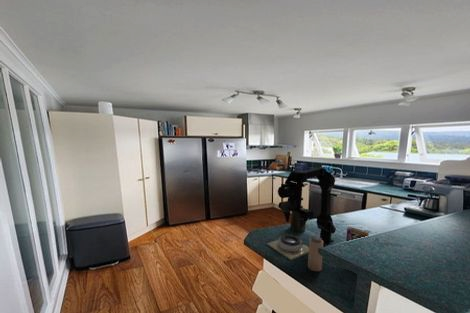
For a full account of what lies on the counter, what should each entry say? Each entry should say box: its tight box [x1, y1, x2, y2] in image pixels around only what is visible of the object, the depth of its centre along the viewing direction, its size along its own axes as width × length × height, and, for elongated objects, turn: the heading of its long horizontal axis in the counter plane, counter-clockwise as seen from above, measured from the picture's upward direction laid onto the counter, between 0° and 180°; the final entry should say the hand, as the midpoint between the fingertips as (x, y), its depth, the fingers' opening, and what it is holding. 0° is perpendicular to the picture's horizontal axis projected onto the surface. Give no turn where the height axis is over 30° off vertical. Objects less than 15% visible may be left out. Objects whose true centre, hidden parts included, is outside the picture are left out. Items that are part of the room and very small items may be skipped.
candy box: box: [345, 226, 370, 242], centre depth 103 cm, size 9×4×15 cm, turn 47°
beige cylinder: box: [307, 235, 324, 272], centre depth 96 cm, size 6×6×14 cm
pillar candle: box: [289, 207, 307, 233], centre depth 138 cm, size 10×10×15 cm
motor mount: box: [267, 234, 309, 261], centre depth 113 cm, size 17×17×5 cm
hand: (294, 225), depth 107 cm, fingers open, 9 cm apart
